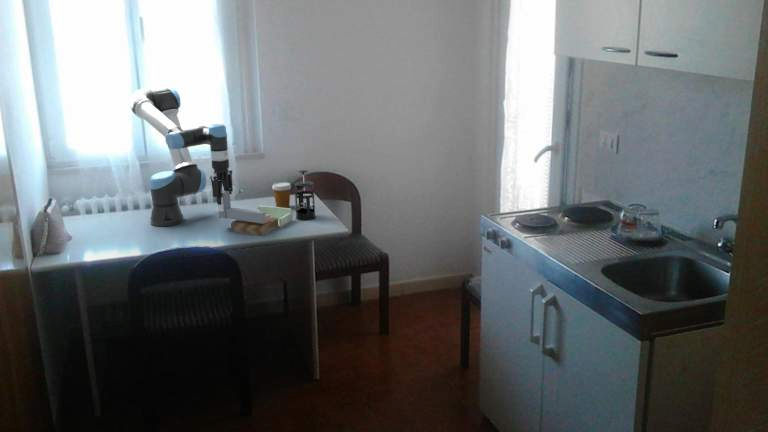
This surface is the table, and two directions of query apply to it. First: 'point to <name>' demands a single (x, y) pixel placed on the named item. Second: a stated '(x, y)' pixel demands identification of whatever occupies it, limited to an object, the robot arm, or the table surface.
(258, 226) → the brown wooden board
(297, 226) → the table surface
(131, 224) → the table surface
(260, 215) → the scraper
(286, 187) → the disposable coffee cup
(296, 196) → the french press
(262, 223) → the tile
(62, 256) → the table surface
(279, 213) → the tray
